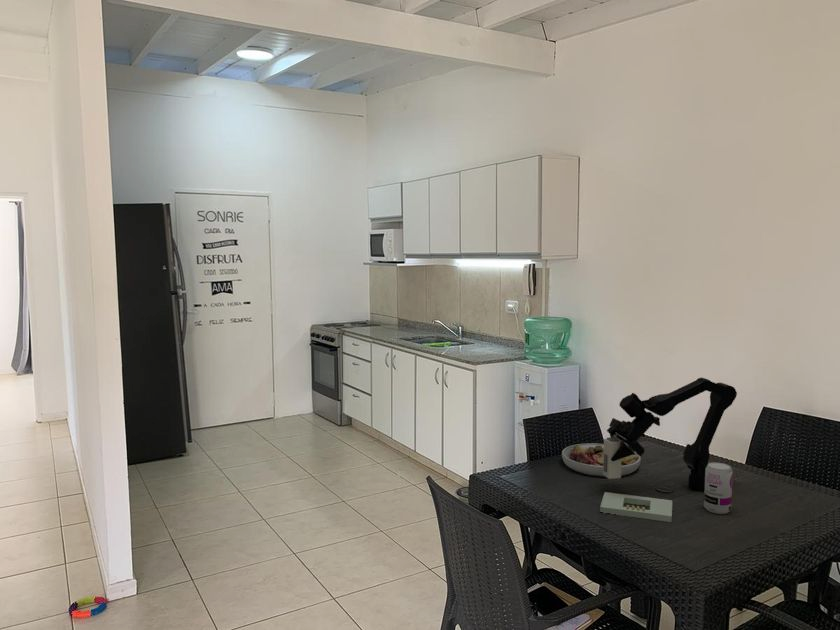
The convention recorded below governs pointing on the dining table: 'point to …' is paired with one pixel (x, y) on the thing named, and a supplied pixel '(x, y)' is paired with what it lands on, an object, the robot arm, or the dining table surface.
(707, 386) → the robot arm
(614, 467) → the grey tall block
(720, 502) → the supplement can
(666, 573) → the dining table surface
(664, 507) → the board
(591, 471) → the bowl
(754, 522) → the dining table surface
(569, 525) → the dining table surface
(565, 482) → the dining table surface
